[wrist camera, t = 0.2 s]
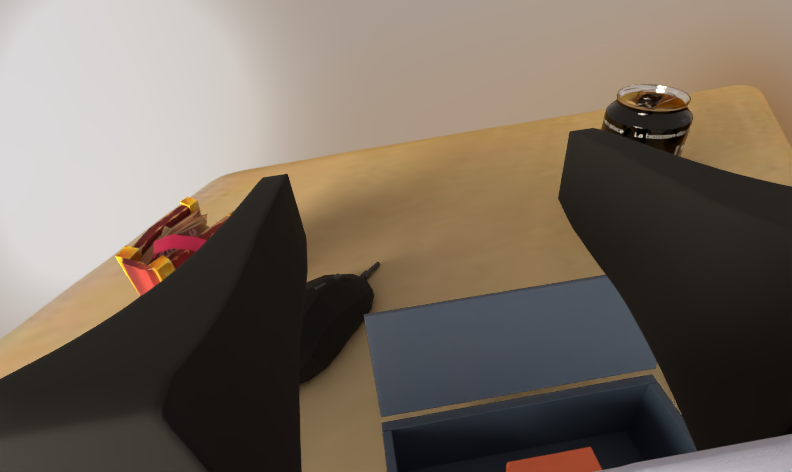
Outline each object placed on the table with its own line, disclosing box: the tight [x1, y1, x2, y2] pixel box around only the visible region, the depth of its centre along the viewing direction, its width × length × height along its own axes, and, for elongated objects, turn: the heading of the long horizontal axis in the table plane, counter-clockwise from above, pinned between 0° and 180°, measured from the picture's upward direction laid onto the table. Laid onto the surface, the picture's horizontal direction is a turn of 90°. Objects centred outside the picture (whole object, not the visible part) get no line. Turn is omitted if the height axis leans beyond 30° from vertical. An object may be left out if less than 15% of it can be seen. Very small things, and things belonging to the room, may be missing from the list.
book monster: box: [115, 197, 234, 296], centre depth 35 cm, size 11×9×12 cm
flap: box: [364, 275, 656, 417], centre depth 22 cm, size 15×6×1 cm
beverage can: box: [601, 84, 693, 157], centre depth 40 cm, size 7×7×12 cm
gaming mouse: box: [299, 262, 380, 383], centre depth 35 cm, size 6×15×4 cm, turn 148°
